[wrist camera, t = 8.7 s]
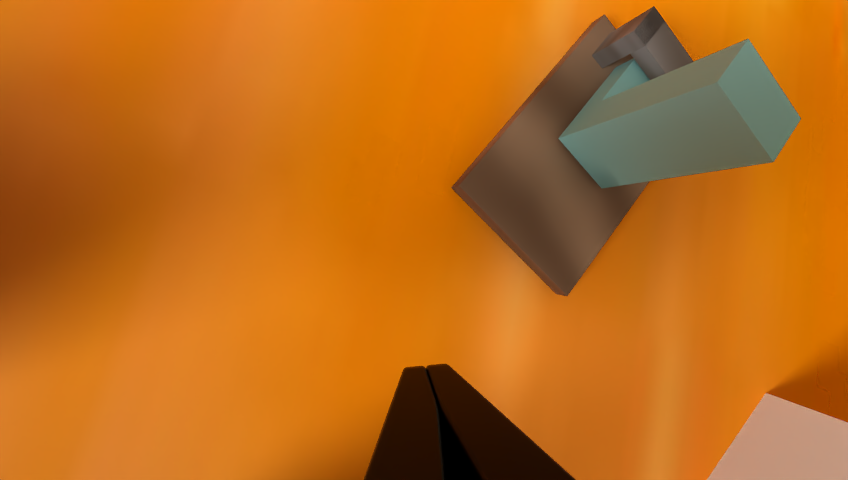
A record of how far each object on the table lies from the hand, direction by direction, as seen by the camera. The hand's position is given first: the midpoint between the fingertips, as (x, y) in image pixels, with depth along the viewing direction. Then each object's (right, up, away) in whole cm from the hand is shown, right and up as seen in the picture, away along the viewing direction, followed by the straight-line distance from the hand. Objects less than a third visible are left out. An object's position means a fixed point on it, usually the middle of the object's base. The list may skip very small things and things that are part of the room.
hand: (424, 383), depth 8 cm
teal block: (+12, +10, +17) cm, 23 cm away
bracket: (+9, +8, +17) cm, 21 cm away
